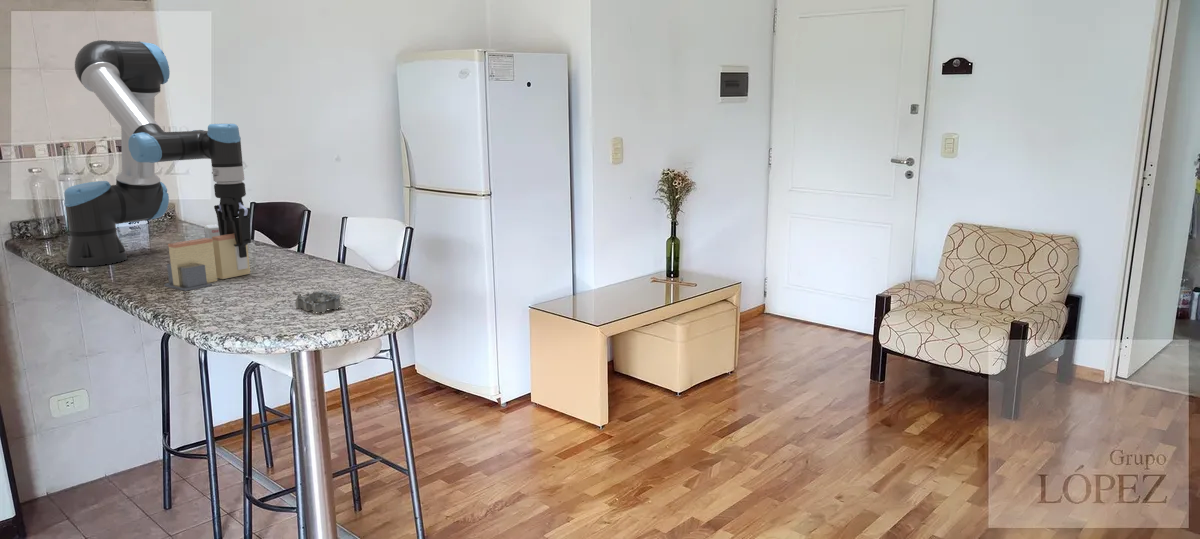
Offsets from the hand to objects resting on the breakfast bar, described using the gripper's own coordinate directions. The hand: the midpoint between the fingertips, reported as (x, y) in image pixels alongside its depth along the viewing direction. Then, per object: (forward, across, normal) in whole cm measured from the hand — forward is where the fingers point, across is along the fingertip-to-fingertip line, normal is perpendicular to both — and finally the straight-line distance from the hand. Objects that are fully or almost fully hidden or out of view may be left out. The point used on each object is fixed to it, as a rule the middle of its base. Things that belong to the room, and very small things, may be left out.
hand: (238, 267), depth 214 cm
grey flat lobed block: (+3, +47, -9) cm, 48 cm away
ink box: (+2, -16, +6) cm, 17 cm away
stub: (+2, 0, -2) cm, 3 cm away
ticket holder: (+2, 0, -12) cm, 12 cm away
